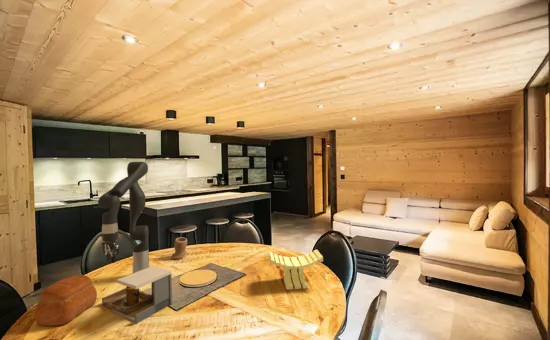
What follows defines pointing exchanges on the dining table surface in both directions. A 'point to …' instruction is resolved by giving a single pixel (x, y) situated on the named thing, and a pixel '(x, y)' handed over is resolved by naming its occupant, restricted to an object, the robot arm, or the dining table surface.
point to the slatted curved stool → (295, 267)
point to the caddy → (120, 297)
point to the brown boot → (179, 248)
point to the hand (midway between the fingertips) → (111, 261)
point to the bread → (65, 300)
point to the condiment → (131, 297)
